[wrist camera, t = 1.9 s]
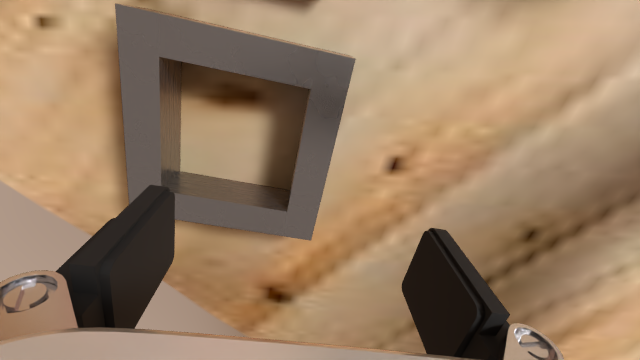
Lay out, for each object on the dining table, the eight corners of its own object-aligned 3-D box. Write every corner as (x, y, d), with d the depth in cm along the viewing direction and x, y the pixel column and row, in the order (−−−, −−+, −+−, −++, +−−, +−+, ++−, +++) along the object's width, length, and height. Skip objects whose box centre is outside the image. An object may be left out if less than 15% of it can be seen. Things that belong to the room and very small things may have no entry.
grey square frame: (348, 55, 19) (355, 58, 16) (310, 216, 24) (310, 240, 21) (145, 8, 17) (115, 3, 14) (151, 190, 22) (129, 212, 19)
